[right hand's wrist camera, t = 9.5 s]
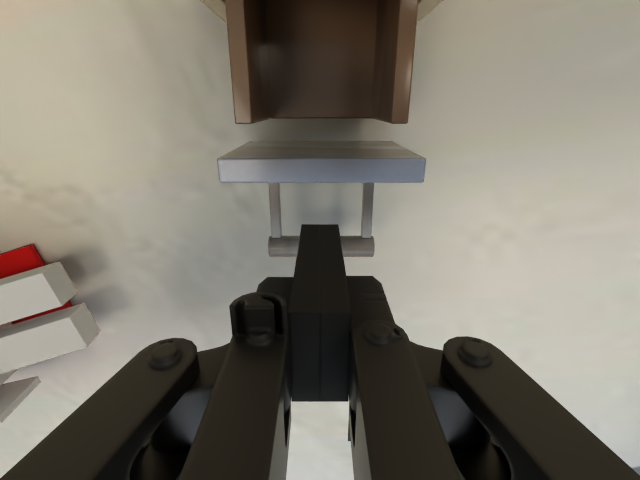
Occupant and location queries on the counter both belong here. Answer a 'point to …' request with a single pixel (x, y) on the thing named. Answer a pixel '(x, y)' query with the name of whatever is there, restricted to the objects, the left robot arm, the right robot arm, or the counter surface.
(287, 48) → the drawer
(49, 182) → the counter surface
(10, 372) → the toy
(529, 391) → the right robot arm
